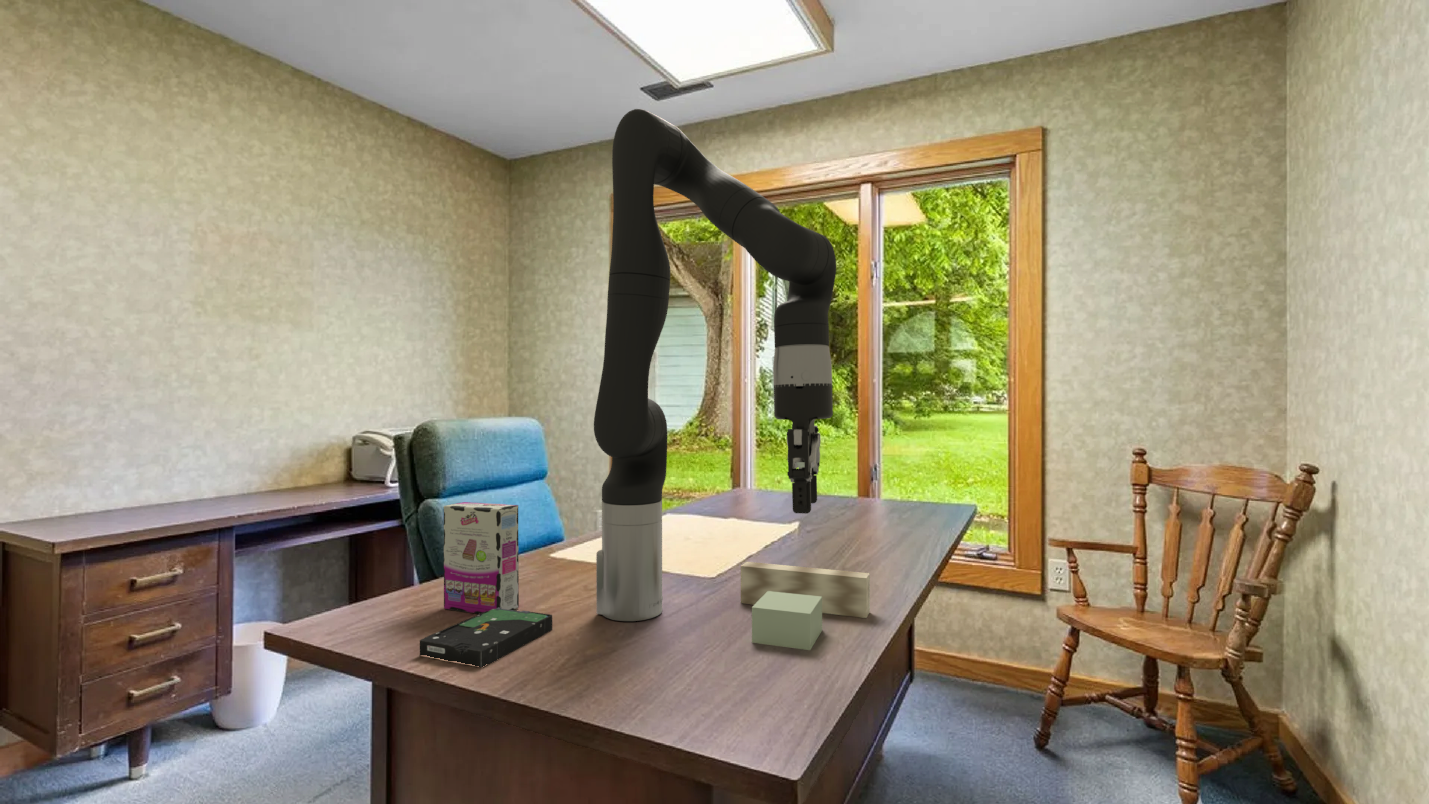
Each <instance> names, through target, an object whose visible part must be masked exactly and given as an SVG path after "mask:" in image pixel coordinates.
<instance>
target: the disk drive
mask: <svg viewBox="0 0 1429 804" xmlns="http://www.w3.org/2000/svg"><path fill="white" fill-rule="evenodd" d="M552 631H553V614H549V613H543V612H536V611H529V610H521V611H520V610H507V609H501V608H500V607H498V608H496V609H492V610H490V611H485V612H483V613H481V614H477V615H474V616H472V617H469V618H467V619H466V620H463V621H462V620H461V622H458V623H456V624H453V625H451V626H449V627H448V626H447V628H444V629H442V630H439V631H437V632H434V633H432V634H430V635H427V636H425V637H424V638H421V639H419V656H420V655H427V656H430V657H434V658H440V659H444V660H448V661H457V662H461V663H465V664H472V665H475V666H479V667H483V666H485V665H486V664H489V665H491V664H493V663H495V662H496V661H497V659H498V660H500V659H501V658H503V657H505V656H507V655H509V654H510V653H512V652H514V651H516V650H518V649H519V648H522V647H523V646H526V645H527V644H529V643H531V642H533V641H535V640H536V639H538V638H540V637H542V636H544V635H546V634H548V633H549V632H552ZM499 658H500V659H499ZM494 661H495V662H494ZM492 662H493V663H492ZM490 663H491V664H490ZM485 667H486V666H485ZM483 668H484V667H483Z"/></svg>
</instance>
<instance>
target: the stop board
mask: <svg viewBox="0 0 1429 804" xmlns="http://www.w3.org/2000/svg"><path fill="white" fill-rule="evenodd" d="M870 575H871V574H870V573H869V572H858V571H850V570H849V571H848V570H838V569H828V568H817V567H809V566H808V567H807V566H806V567H805V566H798V565H796V566H795V565H788V564H787V565H785V564H776V563H775V564H774V563H765V562H755V561H745V562H744V563H743V564H741V565H740V604H745V605H746V604H747V605H753V606H754V605H755V604H756V602H757V601H758V600H759V599H760V598H761V597H762V596H763V595H764V594H765V593H766V592H767V591H772V592H782V593H792V594H802V595H812V596H821V597H822V614H828V615H839V616H846V617H854V618H863V619H867V618H868V616H869V615H870V612H871V611H870V603H871V601H870V599H871V597H870V596H871V595H870V592H871V590H870V586H871V584H870V581H871V580H870V578H871V577H870Z"/></svg>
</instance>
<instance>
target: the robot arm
mask: <svg viewBox="0 0 1429 804" xmlns="http://www.w3.org/2000/svg"><path fill="white" fill-rule="evenodd" d="M611 151H612V154H611V162H612V163H611V164H612V165H611V166H612V168H611V169H612V170H611V171H612V193H613V194H612V197H613V201H612V202H613V209H612V211H613V212H612V213H613V214H612V232H611V234H612V236H611V238H612V239H611V254H610V255H611V256H610V263H609V264H610V266H609V274H608V286H607V306H606V322H605V336H604V352H603V364H602V372H601V377H600V383H599V388H598V394H597V401H596V404H595V405H596V406H595V410H594V411H595V412H594V418H593V419H594V420H593V432H594V433H593V434H594V437H595V441H596V442H597V445H598V447H599V448H600V450H601V451H603V452H604V453H605V454H606V455H608V456H609V457H611V466H610V471H609V473H608V476H607V477H606V478H605V480H604V481H603V483H602V486H601V549H599V550H598V551H597V552H596V557H595V559H596V569H595V571H596V573H595V574H596V576H595V577H596V614H597V615H602V616H603V617H605V618H607V619H609V620H613V621H619V622H636V621H637V622H638V621H645V620H646V621H647V620H649V619H653V618H655V617H657V616H659V615H661V613H662V612H663V488H664V486H665V482H666V478H667V465H668V463H667V462H668V457H667V456H668V424H667V419H666V415H665V412H664V411H663V409H662V408H661V406H660V405H659V404H658V403H657V402H656V401H654V400H653V399H650V398H649V380H650V378H649V377H650V368H651V362H652V359H653V355H654V353H655V350H656V347H657V345H658V343H659V342H658V341H659V340H660V337H661V334H662V332H663V328H664V326H665V323H666V319H667V316H668V315H667V314H668V309H669V302H670V288H671V265H670V260H669V259H670V258H669V256H668V255H669V254H668V252H667V248H666V246H665V243H664V239H663V236H662V233H661V231H660V227H659V225H658V221H657V217H656V213H655V206H654V205H655V203H654V202H655V201H654V200H655V199H654V195H655V194H654V191H655V185H656V186H661V187H664V188H666V189H668V190H670V191H673V192H675V193H676V194H679V195H681V196H683V197H685V198H686V199H689V200H690V201H691V202H692V203H694V204H695V205H696V206H697V207H698V208H699V210H700V211H701V212H702V214H703V215H704V216H705V218H706V219H708V220H709V222H710V224H713V226H715V227H716V228H717V229H718V230H719V231H721V232H722V233H723V234H725V235H726V236H727V237H729V239H731V240H732V241H734V242H735V243H736V244H738V245H740V246H741V247H742V248H744V249H745V251H746V252H747V253H748V254H749V255H750V256H751V257H752V258H753V260H754V261H755V262H756V263H757V264H759V266H760V267H762V269H764V270H765V271H767V272H768V273H769V274H771V275H772V276H774V277H776V278H777V279H779V280H783V281H786V282H788V291H787V299H786V301H785V302H782V303H780V304H779V305H777V307H776V308H775V311H774V315H773V317H774V318H773V319H774V320H773V327H774V328H773V330H774V332H773V333H774V354H773V362H772V363H773V364H772V365H773V366H772V375H773V379H772V380H773V416H774V418H775V419H776V420H789V421H790V422H791V423H792V424H791V428H788V429H787V432H786V443H787V459H786V461H787V465H788V466H787V469H788V470H787V474H786V475H787V476H788V479H789V480H790V483H791V493H792V499H791V500H792V512H793V513H794V514H805V515H806V514H810V513H811V511H812V504H815V503H817V501H818V479H817V478H818V476H817V475H818V473H819V472H820V471H819V467H820V462H821V450H820V447H821V440H822V439H821V432H819V431H820V430H819V427H818V425H815V421H816V420H818V419H820V420H821V419H823V420H824V419H831V418H832V417H833V414H834V413H833V412H834V408H833V404H834V403H833V369H832V367H833V366H832V357H831V352H830V328H829V310H830V306H831V302H832V299H833V292H834V286H835V283H836V282H835V281H836V274H837V260H836V258H837V257H836V253H835V250H834V247H833V244H832V242H831V241H830V239H829V238H827V237H826V236H825V235H823V234H821V233H819V232H817V231H814V230H812V229H810V228H807V227H805V226H803V225H801V224H799V223H797V222H796V221H794V220H792V219H791V218H789V217H787V216H785V215H784V214H783V213H781V211H780V209H778V207H777V206H776V205H775V204H774V203H773V202H771V201H770V200H769V199H768V198H766V197H764V196H763V195H762V194H760V193H759V192H757V191H756V190H755V189H753V188H751V187H750V186H748V185H747V184H745V183H744V182H742V181H741V180H739V179H737V178H735V177H734V176H732V175H730V174H729V173H727V172H726V171H724V170H722V169H721V168H719V167H718V166H716V164H714V163H713V162H712V161H711V160H710V159H708V158H707V157H706V156H705V155H704V154H703V153H702V152H701V150H700V149H699V148H698V147H697V146H696V145H695V144H694V143H693V142H692V141H691V140H690V139H689V137H687V135H686V134H685V133H684V132H683V131H682V130H681V129H680V128H678V126H676V125H674V124H673V123H670V122H669V121H667V120H665V119H664V118H662V117H660V116H658V115H656V114H654V113H652V112H651V111H648V110H646V109H642V108H634V109H632V110H630V111H628V112H626V113H625V114H624V116H622V118H621V119H620V121H619V122H618V125H617V127H616V130H615V132H614V136H613V142H612V150H611Z"/></svg>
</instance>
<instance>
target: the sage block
mask: <svg viewBox="0 0 1429 804" xmlns="http://www.w3.org/2000/svg"><path fill="white" fill-rule="evenodd" d="M822 631H823V613H822V597H821V596H812V595H802V594H792V593H782V592H772V591H767V592H766V593H765V594H764V595H763V596H762V597H761V598H760V599H759V600H758V601H757V602H756V604H755V605H753V606H751V643H752V644H760V645H766V646H767V645H768V646H776V647H783V648H790V649H791V648H792V649H797V650H805V651H811V650H812V648H813V646H814V645H815V643H816V642H817V639H818V638H819V636H820V635H821V633H822Z"/></svg>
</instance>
